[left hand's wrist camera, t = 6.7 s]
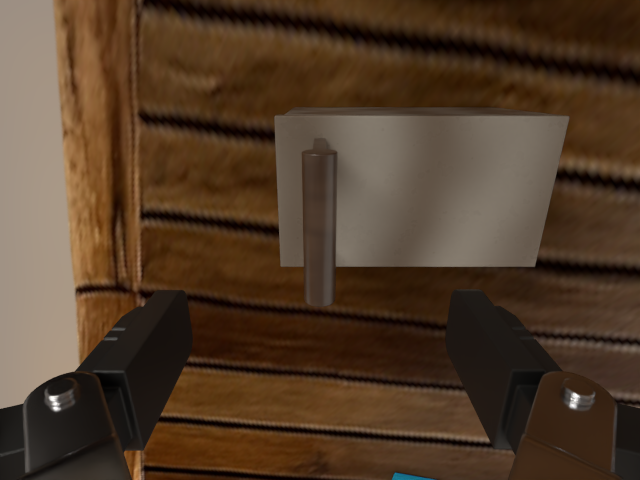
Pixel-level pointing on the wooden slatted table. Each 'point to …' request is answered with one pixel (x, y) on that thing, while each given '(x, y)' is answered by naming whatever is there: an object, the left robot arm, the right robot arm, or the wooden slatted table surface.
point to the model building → (408, 477)
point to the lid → (412, 191)
